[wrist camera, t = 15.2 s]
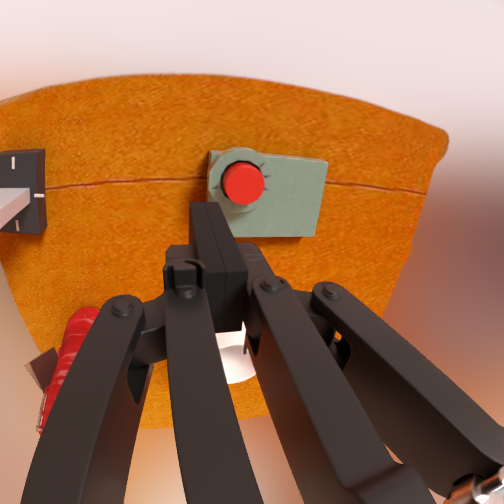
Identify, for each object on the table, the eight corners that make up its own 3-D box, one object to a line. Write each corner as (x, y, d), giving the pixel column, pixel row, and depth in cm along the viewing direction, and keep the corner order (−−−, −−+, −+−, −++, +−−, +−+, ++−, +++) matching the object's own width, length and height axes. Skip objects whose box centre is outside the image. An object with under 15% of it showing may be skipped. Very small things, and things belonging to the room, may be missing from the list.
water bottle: (55, 331, 36) (24, 469, 15) (47, 292, 32) (-4, 445, 11) (121, 342, 40) (117, 491, 19) (121, 304, 37) (107, 475, 16)
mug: (161, 304, 38) (162, 359, 30) (199, 267, 37) (208, 319, 28) (220, 339, 44) (233, 390, 36) (257, 309, 43) (277, 358, 34)
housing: (202, 230, 34) (205, 245, 31) (207, 143, 29) (211, 147, 26) (307, 229, 38) (320, 243, 35) (321, 152, 33) (337, 159, 30)
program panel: (-3, 151, 21) (-13, 155, 19) (52, 148, 24) (43, 152, 22) (2, 223, 26) (-7, 232, 24) (54, 226, 29) (46, 235, 26)
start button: (220, 198, 29) (223, 204, 28) (223, 161, 27) (227, 165, 26) (257, 199, 30) (262, 205, 29) (261, 163, 28) (267, 167, 27)
